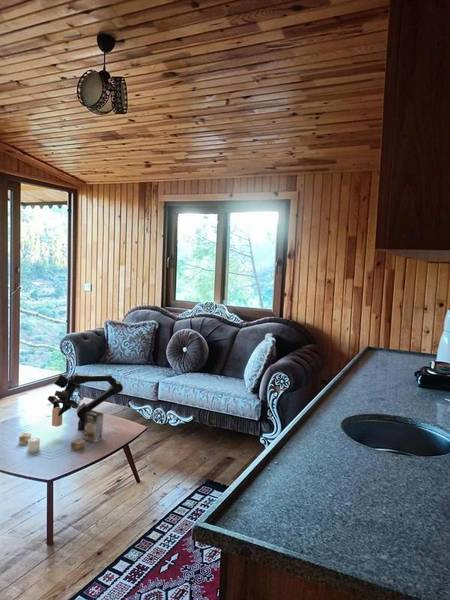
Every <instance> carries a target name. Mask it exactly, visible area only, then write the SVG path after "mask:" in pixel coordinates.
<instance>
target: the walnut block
mask: <svg viewBox="0 0 450 600" xmlns="http://www.w3.org/2000/svg"><path fill="white" fill-rule="evenodd" d="M70 450H71V451H73V452H77V453H79V452H81V451H83V450H85V440H81V439H75V440H73V441H71V443H70Z"/></svg>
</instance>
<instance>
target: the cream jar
mask: <svg viewBox="0 0 450 600" xmlns="http://www.w3.org/2000/svg"><path fill="white" fill-rule="evenodd" d="M40 442H41V440H40V438H39V437H31V439H29V440H28V444H27V452H28V453H30V454H35V453H38V452H39V451H40V445H41V444H40Z"/></svg>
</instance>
